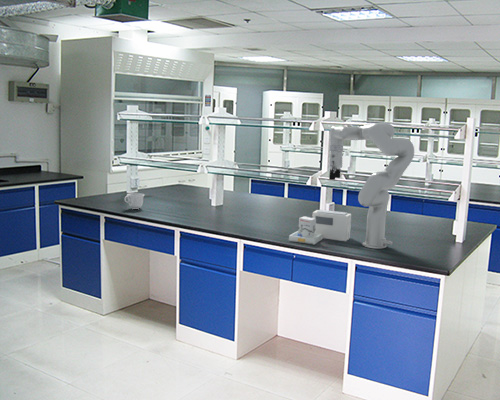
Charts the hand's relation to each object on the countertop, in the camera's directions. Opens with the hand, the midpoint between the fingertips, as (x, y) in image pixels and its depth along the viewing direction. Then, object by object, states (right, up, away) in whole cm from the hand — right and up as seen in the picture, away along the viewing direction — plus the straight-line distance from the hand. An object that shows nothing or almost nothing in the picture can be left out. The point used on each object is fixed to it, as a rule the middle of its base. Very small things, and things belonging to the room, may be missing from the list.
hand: (334, 178), depth 296 cm
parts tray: (-17, -34, -10) cm, 40 cm away
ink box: (-17, -34, -10) cm, 39 cm away
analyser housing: (-3, -33, -3) cm, 33 cm away
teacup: (-128, -19, +63) cm, 144 cm away
